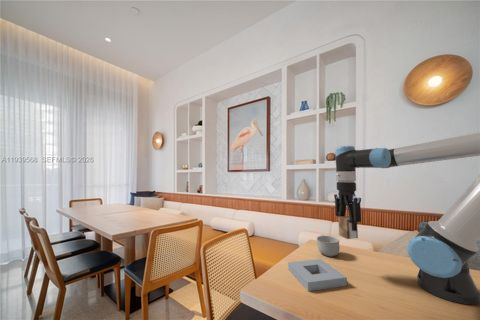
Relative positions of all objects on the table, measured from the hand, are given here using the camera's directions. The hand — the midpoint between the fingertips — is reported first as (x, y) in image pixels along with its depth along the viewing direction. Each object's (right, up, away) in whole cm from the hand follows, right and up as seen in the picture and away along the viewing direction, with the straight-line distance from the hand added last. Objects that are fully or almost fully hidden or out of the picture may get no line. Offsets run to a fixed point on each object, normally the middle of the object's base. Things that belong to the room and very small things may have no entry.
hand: (348, 235), depth 82 cm
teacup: (0, -17, +19) cm, 25 cm away
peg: (0, 0, 0) cm, 0 cm away
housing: (-16, -15, -5) cm, 22 cm away
